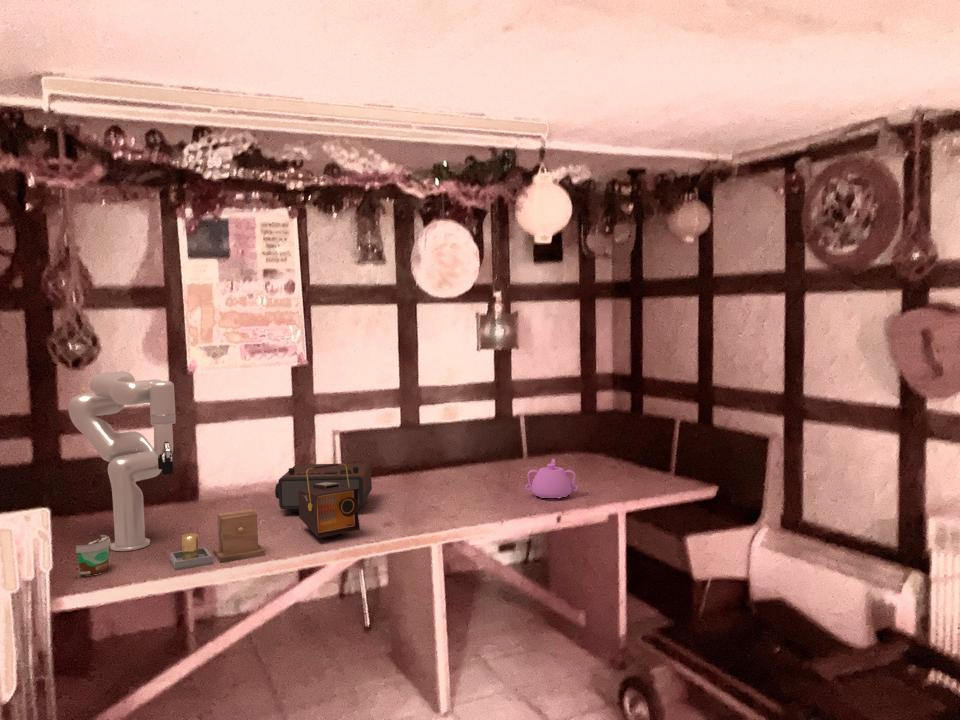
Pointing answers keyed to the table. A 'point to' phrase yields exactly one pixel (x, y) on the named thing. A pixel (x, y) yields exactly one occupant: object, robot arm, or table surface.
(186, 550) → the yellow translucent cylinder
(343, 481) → the radio receiver
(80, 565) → the food container
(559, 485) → the purple lidded pot
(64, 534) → the table surface
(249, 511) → the mounted unit
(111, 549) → the robot arm
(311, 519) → the vintage portable radio
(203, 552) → the tray
